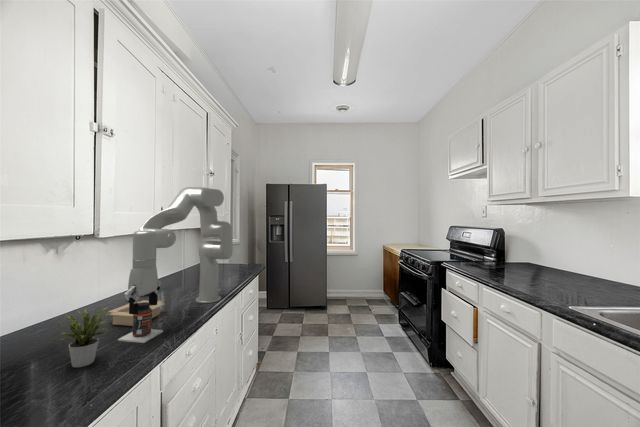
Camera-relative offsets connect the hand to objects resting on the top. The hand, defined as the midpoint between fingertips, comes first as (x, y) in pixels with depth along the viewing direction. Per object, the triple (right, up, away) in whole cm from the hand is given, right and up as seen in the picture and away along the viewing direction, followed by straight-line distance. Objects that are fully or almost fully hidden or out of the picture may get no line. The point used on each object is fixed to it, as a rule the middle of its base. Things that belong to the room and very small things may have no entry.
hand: (143, 309), depth 106 cm
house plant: (-5, -10, -19) cm, 22 cm away
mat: (0, -10, -1) cm, 10 cm away
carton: (-13, -10, +16) cm, 22 cm away
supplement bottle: (0, -9, -1) cm, 9 cm away
